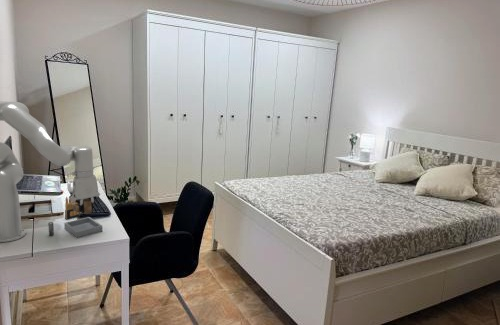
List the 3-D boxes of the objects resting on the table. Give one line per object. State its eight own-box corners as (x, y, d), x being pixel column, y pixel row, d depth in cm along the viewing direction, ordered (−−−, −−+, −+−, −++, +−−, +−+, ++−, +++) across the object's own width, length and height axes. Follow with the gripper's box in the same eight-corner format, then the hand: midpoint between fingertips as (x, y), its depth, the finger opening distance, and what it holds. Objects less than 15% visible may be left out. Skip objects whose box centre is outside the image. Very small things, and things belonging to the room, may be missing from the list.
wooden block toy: (81, 215, 160) (80, 202, 159) (71, 208, 167) (71, 196, 166) (95, 211, 165) (94, 199, 164) (85, 205, 172) (84, 194, 170)
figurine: (88, 205, 199) (87, 180, 195) (70, 209, 192) (69, 183, 189) (84, 202, 204) (83, 177, 200) (66, 205, 197) (65, 179, 194)
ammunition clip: (67, 220, 178) (65, 197, 176) (64, 219, 179) (63, 196, 176) (86, 214, 187) (85, 192, 184) (84, 213, 188) (83, 192, 185)
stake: (50, 236, 160) (49, 224, 158) (48, 234, 161) (47, 222, 160) (54, 235, 161) (53, 223, 160) (53, 233, 162) (52, 221, 161)
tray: (76, 238, 159) (76, 232, 159) (64, 228, 168) (64, 222, 168) (102, 231, 168) (102, 225, 168) (89, 222, 177) (89, 216, 177)
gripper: (68, 178, 151) (71, 217, 156) (105, 172, 163) (107, 209, 168) (62, 174, 156) (64, 213, 160) (98, 169, 168) (99, 205, 172)
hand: (86, 210), depth 164 cm, fingers closed on wooden block toy, 3 cm apart
